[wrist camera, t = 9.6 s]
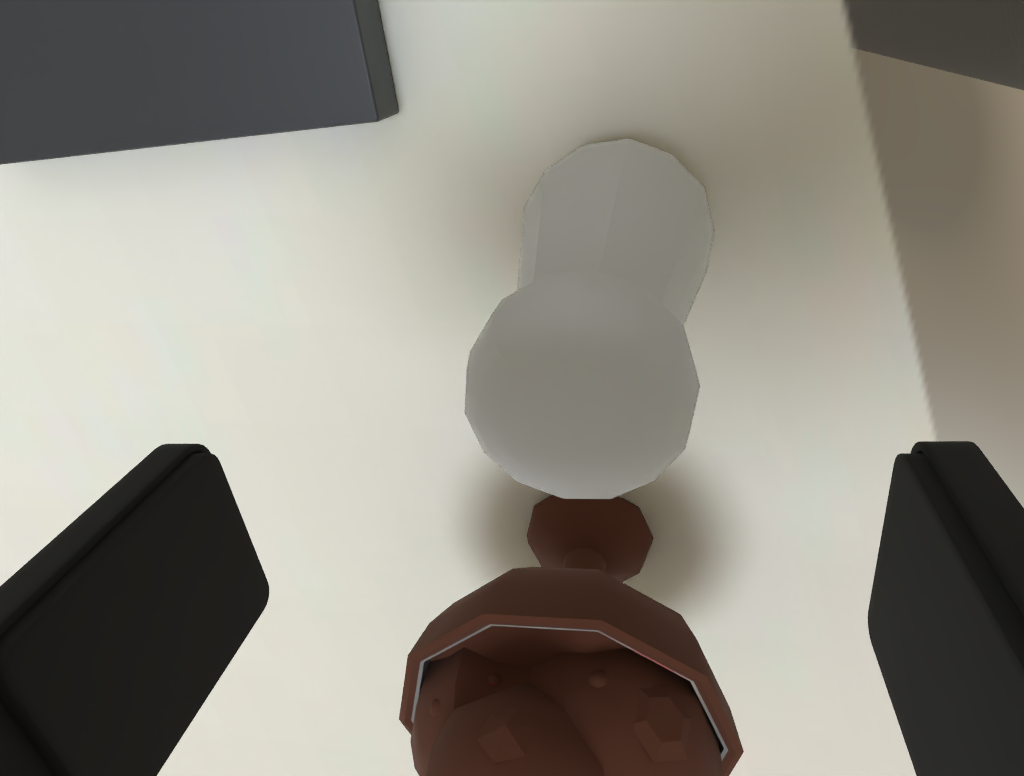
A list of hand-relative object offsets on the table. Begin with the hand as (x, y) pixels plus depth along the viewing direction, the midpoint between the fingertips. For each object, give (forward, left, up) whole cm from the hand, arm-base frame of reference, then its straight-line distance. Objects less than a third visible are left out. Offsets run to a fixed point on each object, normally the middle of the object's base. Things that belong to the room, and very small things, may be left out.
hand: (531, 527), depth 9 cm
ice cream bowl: (+2, +14, -16) cm, 21 cm away
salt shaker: (0, 0, -16) cm, 16 cm away
